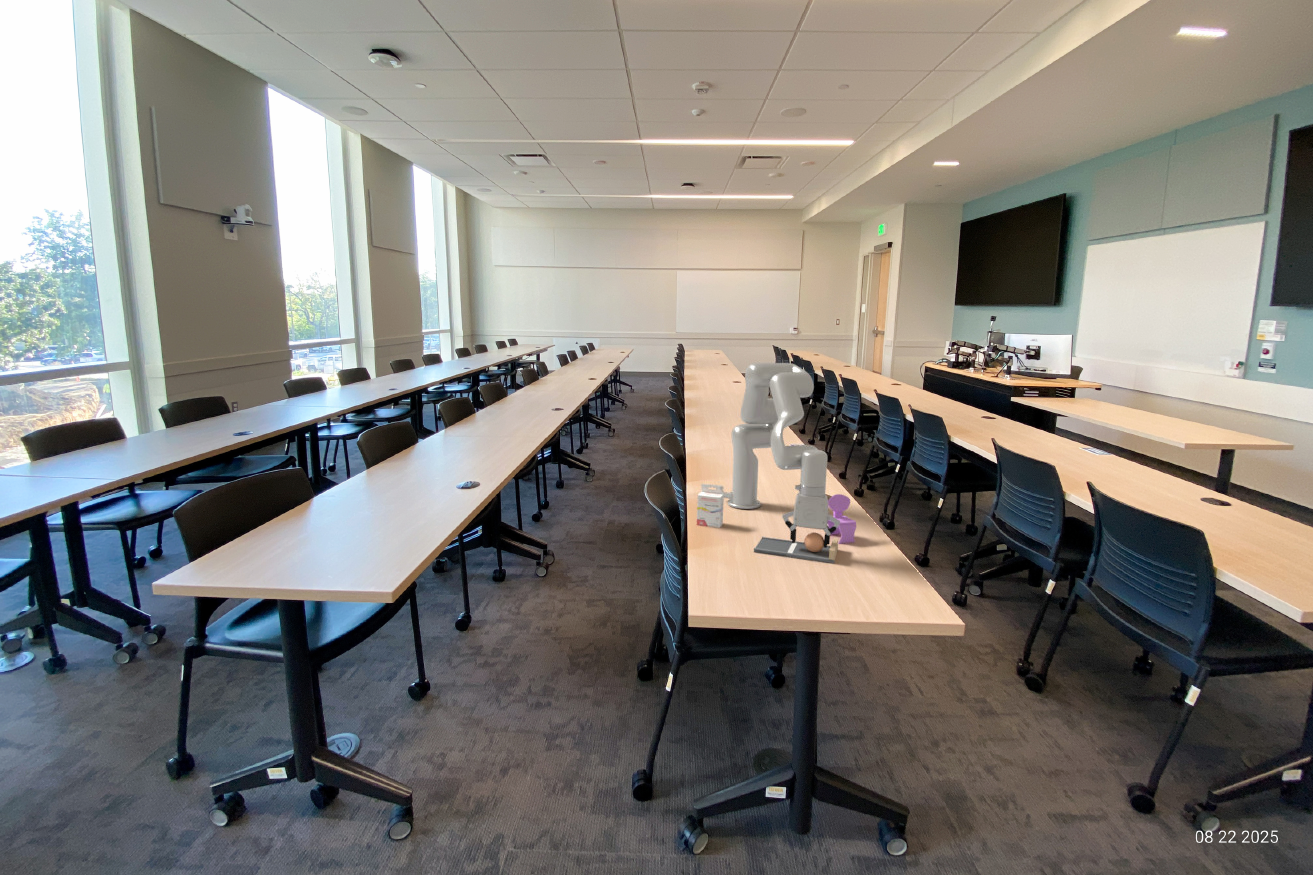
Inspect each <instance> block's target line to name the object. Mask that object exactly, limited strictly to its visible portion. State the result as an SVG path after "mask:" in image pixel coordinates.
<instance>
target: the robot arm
mask: <svg viewBox="0 0 1313 875" xmlns="http://www.w3.org/2000/svg"><path fill="white" fill-rule="evenodd" d="M744 380H745V381H744V382H745V388H744V389H745V390H744V394H743V399H742V404H741V409H740V419H741V421H742V422H743V423H742V424H738V425H736V426H734V427H733V428H732V431H731V443H732V453H733V454H732V455H733V458H732V461H733V462H732V488H731V489H732V491H730V492H726V491H723V494H724V499H728V500H727V505H728V506H730V507H732V508H735V509H743V510H744V509H745V510H749V509H750V510H753V509H757V508H760V507H761V505H762V504H761V503H762V502H761V501H760V500H759V499H758V483H759V482H758V478H759V459H758V457H757V455H756V453H755V452H754V451H753V450H757V449H771V452H772V458H773V460H774V461H773V462H774V463H775V465H776V466H777V467H778V469H780V470H783V471H792V470H793V471H794V470H800V479H799V480H800V481H799V484H797V485H796V484H795V487H794V489H795V490H797V491H798V492H797V494H796V497H795V501H794V509H793V510H792V511H789V512H786V513H783V515H782V517H781V518H782V519H783V521H784V523H785V525H786V526H787V527H788V529H789V531H790V535H789V536H790V539H789V540H790V541H792V543H795V541H797V527H798V528H806V529H812V530H823V532H824V537H823V539H824V547H825V548H826V547H827V545H828V546H830V543H831V535H830V534H832V533H833V532H834V531H836V529H837V528H838V526H839V525H840V521H839V520H838V519H836V518H834V517H833V515H832V514H829V506H828V500H829V499H828V495H827V494H826V484H827V468H828V467H827V466H828V454H827V453H826V452H825V451H823V450H820V449H818V447H816V446H814V445H811V444H801V445H799V444H798V445H786V444H785V442H784V441H785V440H784V436H783V435H784V430H785V429H786V428H788V427H790V426H792V425H794V424H796V423H797V422H800V421H801V420H802V419H803V418H804V416H805V411H804V408H803V404H802V401H801V398H808V397H810V396H812V394H813V392H814V388H815V386H814V380H813V379H812V376H811V375H810V373H808V372H807V371H806V370H804V369H803V368H801V367H800V366H798V365H796V364H794V363H790V362H789V363H788V362H778V363H777V362H754V363H751V364H749V365H747V367H746V370H745V375H744ZM770 393H771V396H772V398H771V397H770V398H769V394H770ZM790 517H793V518H792V519H793V521H790V519H789V518H790ZM828 520H830V521H831V522H833V523H834V526H833V527H831V528H829V527H828ZM792 522H793V523H792ZM832 535H833V534H832Z"/></svg>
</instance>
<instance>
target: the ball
mask: <svg viewBox="0 0 1313 875" xmlns="http://www.w3.org/2000/svg"><path fill="white" fill-rule="evenodd" d="M804 544H805V547H806V548H807V549H808V550H809V551H811V552H819V551H820V550H822V549H823V547H824V537H823V535H821V533H818V532H810V533H808V534H807V535H806V536H805V538H804Z"/></svg>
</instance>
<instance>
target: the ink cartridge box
mask: <svg viewBox="0 0 1313 875" xmlns="http://www.w3.org/2000/svg"><path fill="white" fill-rule="evenodd" d="M700 486H701V489H700V490H701V491H700V492H698V494H697V502H696V503H697V507H696V526H700V527H701V526H703V527H710V528H718V529H719V528H721V527H722V526H723V523H724V500H725V498H724V494H723V492H724V485H721V484H720V485H719V484H718V485H717V484H711V483H710V484H709V483H701V485H700ZM711 488H713V489H711Z"/></svg>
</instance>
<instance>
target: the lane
mask: <svg viewBox="0 0 1313 875" xmlns="http://www.w3.org/2000/svg"><path fill="white" fill-rule="evenodd" d="M838 543H839V538H838V537H833V539H832V541H831V544H830V545H828V544H827V547H826V548H825V547H823V549H822V550H820V551H819V552H811V551H809V550H808V549H807V548H806V547H805V544H804V542H803V541H797V540H796V541H795V543H792V540H790V539H781V538H774V537H767V536H761V539H760V540H759V542H758V543H757V545H756V546H755V547H754V548H753V553H758V554H764V555H770V556H771V555H772V556H778V557H786V558H791V559H792V558H793V559H799V560H806V561H811V562H818V563H819V562H821V563H827V564H832V565H833V564H834V563H835V561H836V557H837V553H838V550H839V544H838Z"/></svg>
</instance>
